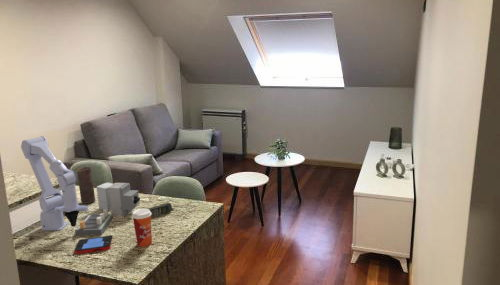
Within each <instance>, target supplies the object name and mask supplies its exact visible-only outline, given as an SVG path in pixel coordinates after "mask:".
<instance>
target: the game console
mask: <svg viewBox="0 0 500 285" xmlns="http://www.w3.org/2000/svg"><path fill="white" fill-rule="evenodd" d="M113 237H114V236H113V235H110V234H109V235H105V236H96V237H89V238H88V237H87V238H81V239H79V240H78V241H77V243H76V246H75V249H74V252H75V254H77V255H80V254H87V253H88V254H89V253H94V252H103V251H108V250H110V249H111V244H112V241H113V239H114V238H113Z"/></svg>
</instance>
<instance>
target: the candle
mask: <svg viewBox="0 0 500 285" xmlns="http://www.w3.org/2000/svg"><path fill="white" fill-rule="evenodd" d="M76 173H77V174H76V175H77V182H78V188H79V195H80V196H79V197H80V201H81V203H83V204H89V203H93V202H95V201H96V194H95V187H94V181H93V180H94V179H93V173H92V167H91V166H84V167H79V168H77V169H76Z"/></svg>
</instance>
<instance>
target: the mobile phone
mask: <svg viewBox="0 0 500 285" xmlns="http://www.w3.org/2000/svg"><path fill="white" fill-rule="evenodd" d="M148 209H149V210H150V212H151V213H152V214H151V219H152V218H156V217H159V216H163V215H166V214H168V213H170V212H171V211H173V210H174V208H173V206H172V203H170V202H166V203H163V204H160V205H156V206H152V207H150V208H148Z"/></svg>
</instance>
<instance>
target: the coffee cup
mask: <svg viewBox="0 0 500 285" xmlns="http://www.w3.org/2000/svg"><path fill="white" fill-rule="evenodd" d="M151 214H152V213H151V212H150V210H149V208H137V209H135V210H134V211H132V214H131V218H132V221H133V225H134V226H133V228H134V231H135V237H136V239H135V240H136V244H137V246H138V247H139V248H145V247H149V246H151V245H152V238H153V237H152V236H153V235H152V218H151Z"/></svg>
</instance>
